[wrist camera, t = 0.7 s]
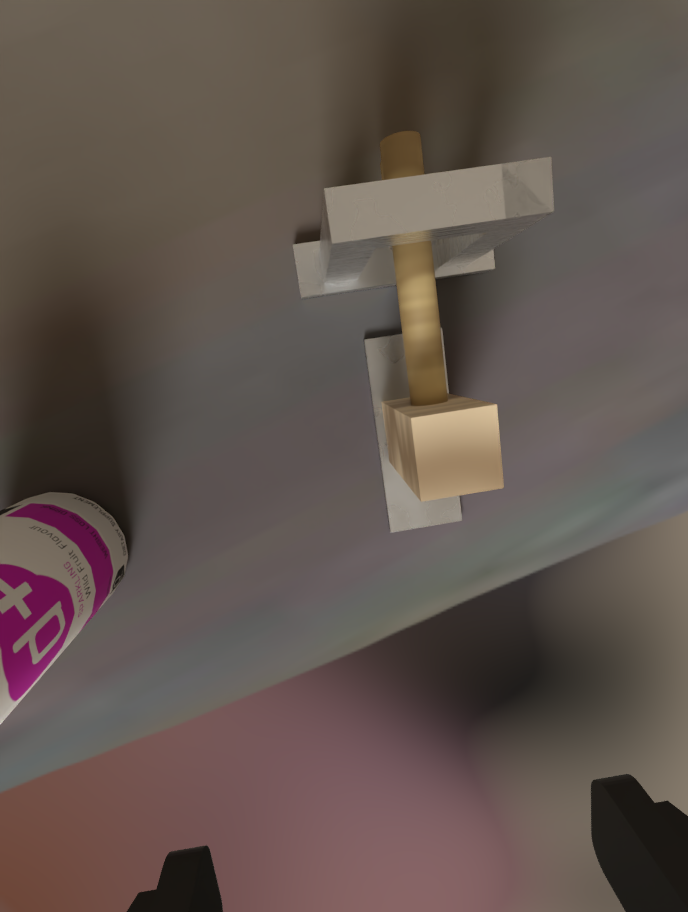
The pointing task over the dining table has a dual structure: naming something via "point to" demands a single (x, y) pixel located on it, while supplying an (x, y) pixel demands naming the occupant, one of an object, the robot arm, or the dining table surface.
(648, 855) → the robot arm
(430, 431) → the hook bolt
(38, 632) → the supplement can
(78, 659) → the dining table surface
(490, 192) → the white stand
